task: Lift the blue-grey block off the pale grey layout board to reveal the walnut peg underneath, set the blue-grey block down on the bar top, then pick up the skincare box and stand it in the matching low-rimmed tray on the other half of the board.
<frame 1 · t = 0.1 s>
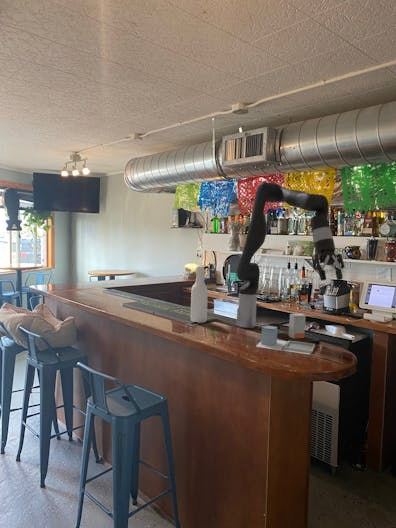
hand: (331, 279, 155), 31 cm above the table, tool tilted 20°, fingers open, 8 cm apart
blue-grey block: (268, 343, 171), point 1 cm above the table, touching layout board
layout board: (285, 349, 168), on the table
skincare box: (296, 340, 183), on the table
alcohol: (198, 321, 215), on the table
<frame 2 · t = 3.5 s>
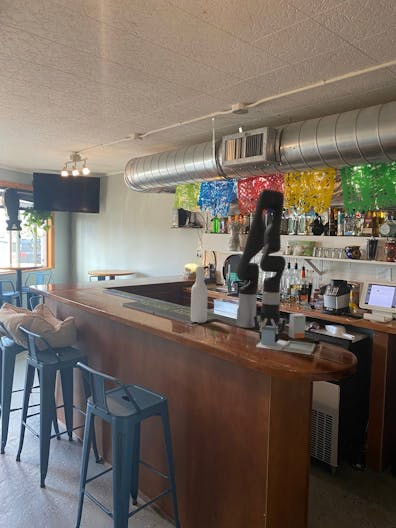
hand: (268, 340, 170), 3 cm above the table, tool pointing down, fingers closed on blue-grey block, 5 cm apart
blue-grey block: (268, 343, 171), point 1 cm above the table, touching gripper, layout board
everything else where it was.
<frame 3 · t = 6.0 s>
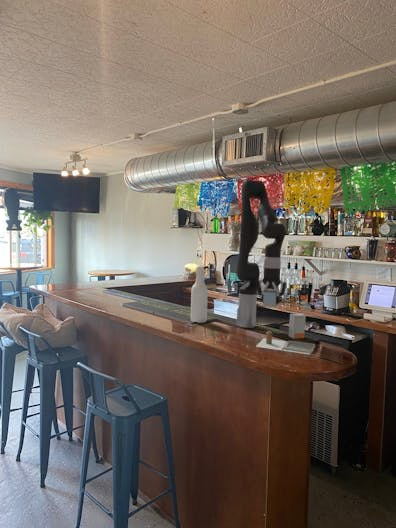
hand: (270, 303, 183), 17 cm above the table, tool pointing down, fingers closed on blue-grey block, 5 cm apart
blue-grey block: (270, 305, 183), point 16 cm above the table, touching gripper
everything else where it was.
when the fingers open (3 cm above the table, at t = 8.5 s): blue-grey block drops 2 cm, on the table.
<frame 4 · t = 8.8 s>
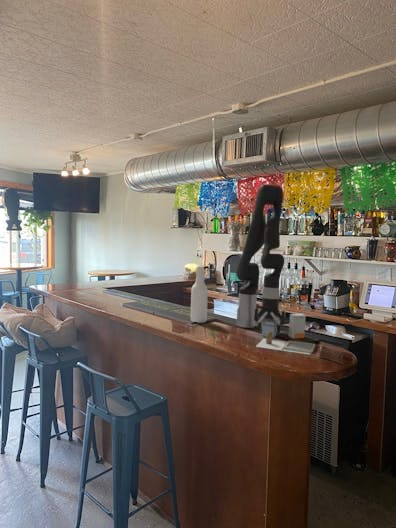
hand: (269, 331, 184), 3 cm above the table, tool pointing down, fingers open, 8 cm apart
blue-grey block: (268, 338, 184), on the table
everything else where it was.
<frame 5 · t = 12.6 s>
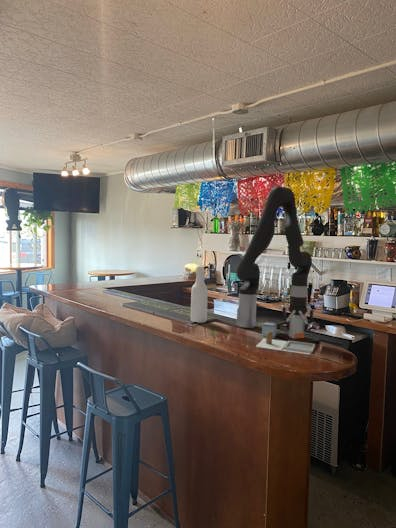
hand: (296, 330, 183), 4 cm above the table, tool pointing down, fingers closed on skincare box, 7 cm apart
skincare box: (296, 340, 183), on the table, touching gripper
everything else where it was.
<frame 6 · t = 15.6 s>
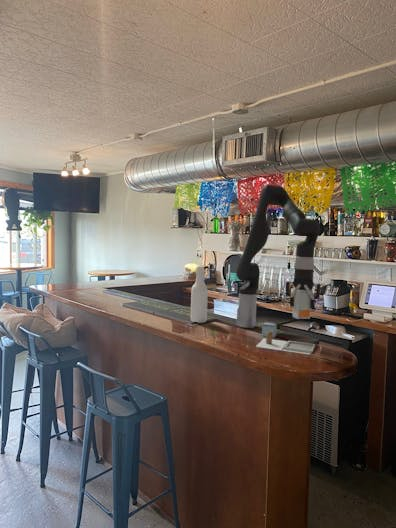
hand: (301, 307, 164), 19 cm above the table, tool pointing down, fingers closed on skincare box, 7 cm apart
skincare box: (301, 318, 165), point 14 cm above the table, touching gripper
everything else where it was.
when the fingers open (7 cm above the table, at t = 18.7 s): skincare box stays where it is, resting on layout board.
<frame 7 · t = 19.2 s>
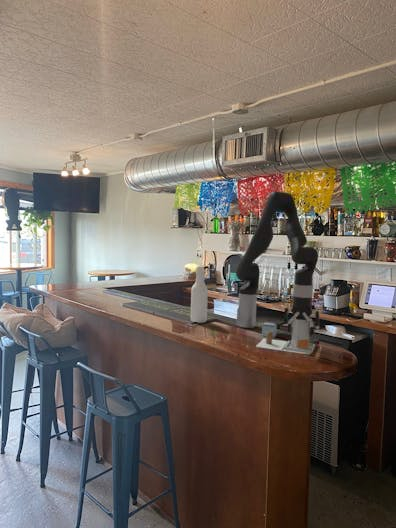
hand: (300, 333, 165), 7 cm above the table, tool pointing down, fingers open, 8 cm apart
skincare box: (299, 347, 166), point 1 cm above the table, touching layout board
everything else where it was.
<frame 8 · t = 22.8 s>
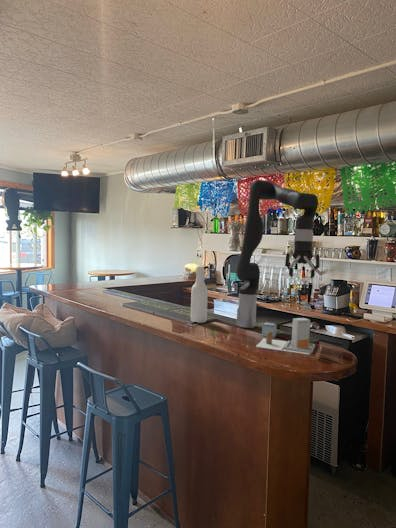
hand: (301, 277, 172), 30 cm above the table, tool pointing down, fingers open, 8 cm apart
nothing on the table moved.
at the end: skincare box inside the target area on the layout board (0.1 cm from its centre), point 1.5 cm above the layout board's base; skincare box tilted 0°; blue-grey block moved 13.9 cm from its start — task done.
